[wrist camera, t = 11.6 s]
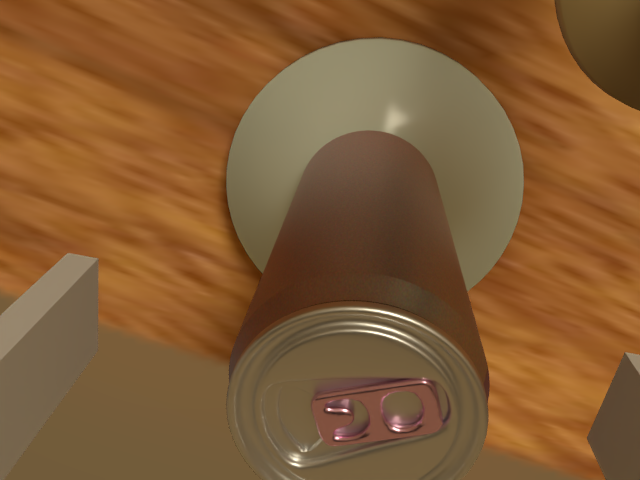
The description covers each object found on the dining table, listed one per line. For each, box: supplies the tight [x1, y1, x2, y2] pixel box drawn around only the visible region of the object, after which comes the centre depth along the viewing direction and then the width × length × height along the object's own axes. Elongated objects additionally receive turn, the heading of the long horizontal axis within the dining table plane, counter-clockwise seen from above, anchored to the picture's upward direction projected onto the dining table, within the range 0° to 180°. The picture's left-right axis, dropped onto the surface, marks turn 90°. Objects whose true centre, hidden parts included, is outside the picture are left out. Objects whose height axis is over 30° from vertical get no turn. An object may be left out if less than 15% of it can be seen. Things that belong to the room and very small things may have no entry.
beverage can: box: [227, 130, 490, 480], centre depth 20 cm, size 6×6×15 cm
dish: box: [226, 37, 524, 291], centre depth 27 cm, size 13×13×1 cm
